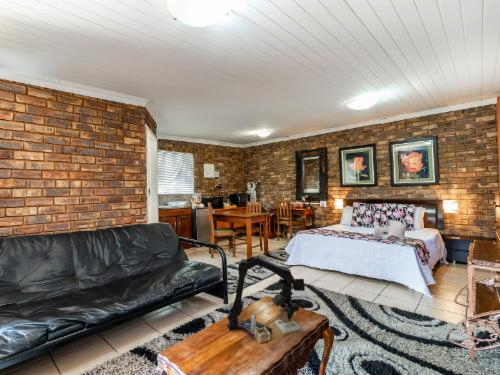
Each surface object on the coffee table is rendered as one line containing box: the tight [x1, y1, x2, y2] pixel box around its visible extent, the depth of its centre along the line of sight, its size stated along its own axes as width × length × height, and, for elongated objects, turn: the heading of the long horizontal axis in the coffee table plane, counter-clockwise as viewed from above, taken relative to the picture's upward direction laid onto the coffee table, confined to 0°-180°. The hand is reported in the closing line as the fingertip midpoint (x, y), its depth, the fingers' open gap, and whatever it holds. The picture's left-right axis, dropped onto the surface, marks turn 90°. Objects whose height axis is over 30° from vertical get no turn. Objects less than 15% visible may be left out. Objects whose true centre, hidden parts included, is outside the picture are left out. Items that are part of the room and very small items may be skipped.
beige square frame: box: [253, 326, 271, 344], centre depth 147 cm, size 6×6×4 cm
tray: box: [274, 319, 300, 335], centre depth 158 cm, size 10×10×2 cm
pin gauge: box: [250, 313, 257, 335], centre depth 153 cm, size 3×3×10 cm
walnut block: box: [279, 307, 295, 323], centre depth 158 cm, size 6×6×6 cm
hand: (286, 316), depth 158 cm, fingers closed on walnut block, 6 cm apart
